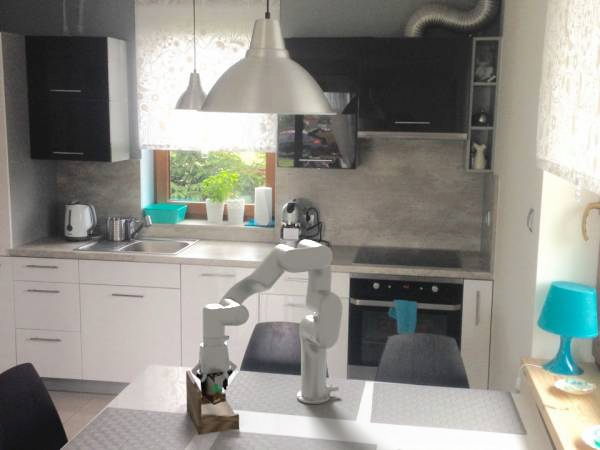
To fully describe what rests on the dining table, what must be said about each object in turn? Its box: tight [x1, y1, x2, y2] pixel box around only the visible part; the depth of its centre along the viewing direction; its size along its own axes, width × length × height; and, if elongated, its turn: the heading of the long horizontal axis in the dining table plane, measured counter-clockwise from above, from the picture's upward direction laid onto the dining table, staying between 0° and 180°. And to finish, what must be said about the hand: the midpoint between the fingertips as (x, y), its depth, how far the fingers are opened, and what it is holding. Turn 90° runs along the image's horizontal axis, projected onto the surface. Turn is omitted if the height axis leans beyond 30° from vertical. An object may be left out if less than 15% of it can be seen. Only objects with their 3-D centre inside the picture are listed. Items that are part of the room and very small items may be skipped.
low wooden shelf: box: [185, 370, 240, 436], centre depth 247 cm, size 14×20×15 cm
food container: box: [198, 370, 225, 405], centre depth 247 cm, size 12×6×10 cm, turn 34°
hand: (214, 389), depth 247 cm, fingers closed on food container, 6 cm apart
